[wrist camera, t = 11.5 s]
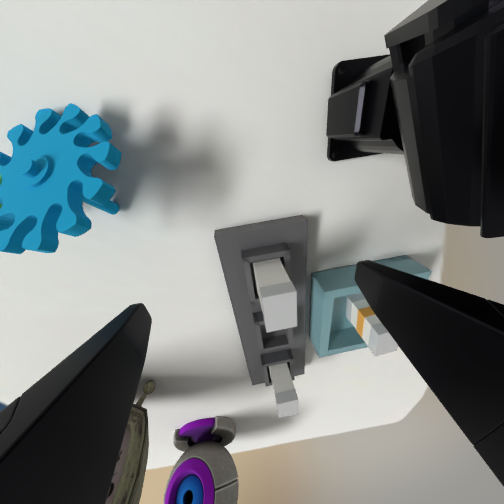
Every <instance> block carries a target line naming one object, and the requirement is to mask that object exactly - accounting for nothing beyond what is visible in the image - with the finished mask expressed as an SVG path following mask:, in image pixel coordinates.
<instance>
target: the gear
mask: <svg viewBox="0 0 504 504" xmlns="http://www.w3.org/2000/svg"><path fill="white" fill-rule="evenodd" d="M35 119H36V125H35V129H34V132H33V131H32V130H30V129H28V128H27V127H25V126H24V125H22V124H20V125H17V126H16V127H14V128H12V129H11V130H10V131H8V134H7V137H8V139H9V140H10V141H11V142H12V145H13V155H12V157H10V156H8V155H5V154H3V153H1V152H0V251H2V252H9V253H16V254H21V253H23V252H24V251H25V249H27V250H32V251H38V252H45V253H53V252H55V251H56V250H57V248H58V244H59V241H58V232H59V233H63V234H67V235H71V236H74V237H76V236H79V235H82V234H84V233H85V232H87V231H88V230H90V229H91V221H90V219H89V218H88V217H87V216H86V215H85V213H84V211H83V207H82V201H83V202H85V203H87V204H90V205H92V206H94V207H96V208H99V209H101V210H103V211H105V212H108V213H110V214H116V213H117V212H118V211H119V205H118V204H116V203H114V202H112V201H110V199H111V198H112V196H113V195H114V193H115V188H114V187H113V186H111V185H109V184H108V183H106V182H104V181H103V180H101V179H100V178H93V176H92V175H91V168H92V167H93V165H95V164H96V163H100V164H101V165H103V166H104V167H106V168H107V169H109V170H115V169H117V168H118V166H119V164H120V160H121V152H120V151H119V150H118V149H116V148H115V147H114V146H113V145H112V144H111V143H109V142H108V141H109V140H111V139H112V131H111V128H110V126H109V125H108V124H107V123H106V122H105V121H104V120H103V119H102V118H100V117H99V116H98V115H97V114H95V115H92V116H91V117H89V116H88V115H87V114H86V113H84V112H83V111H82V110H81V109H80V108H79V107H78V106H76V105H74V104H69V105H68V106H67V107H66V108H65V110H64V112H63V115H62V117H61V116H60V115H58V114H57V113H56V112H55V111H53V110H52V109H41V110H39V111H38V112H37V114H36V117H35ZM93 142H101V143H99V144H97V145H95V146H92V147H88V146H89V145H90V144H91V143H93Z"/></svg>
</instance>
